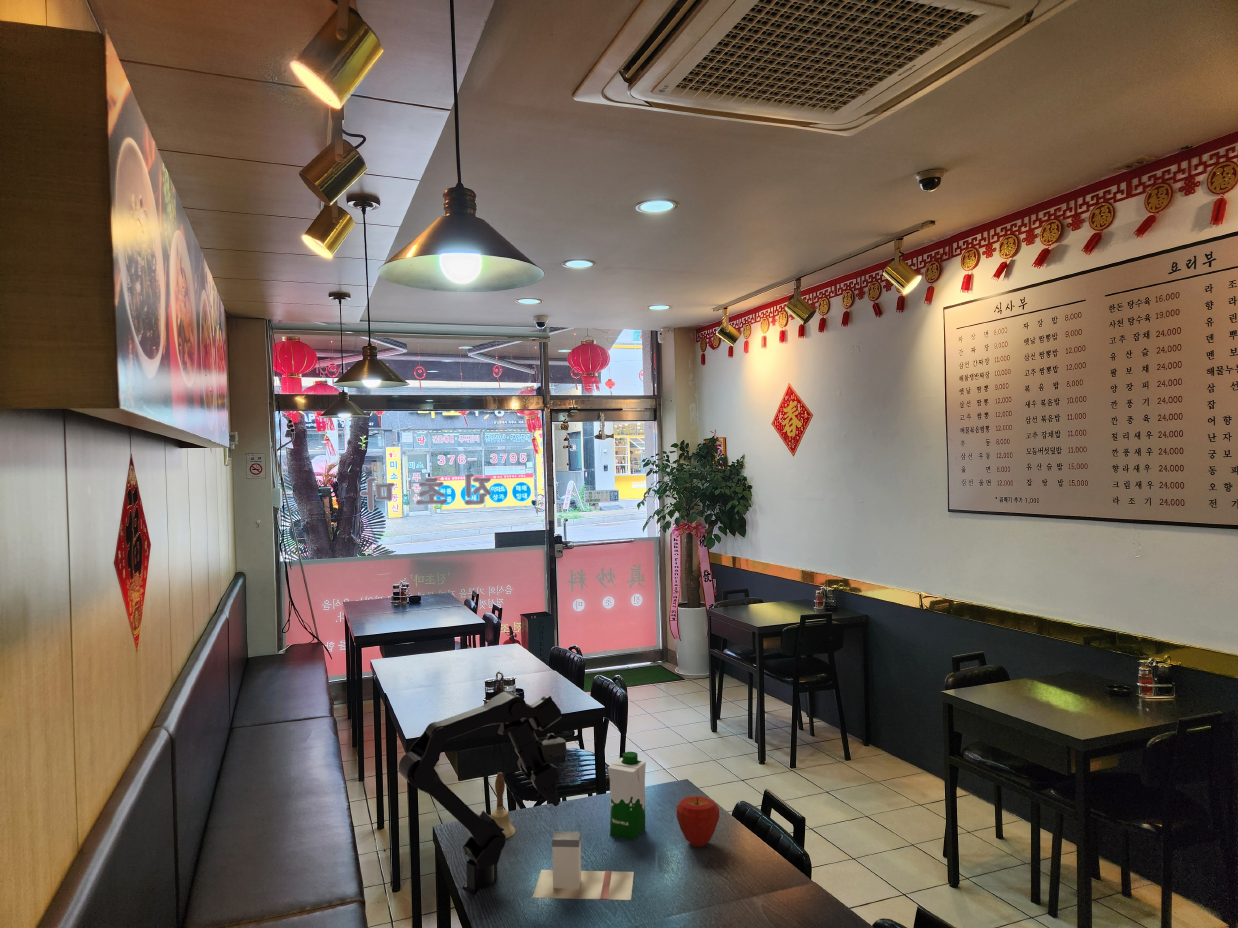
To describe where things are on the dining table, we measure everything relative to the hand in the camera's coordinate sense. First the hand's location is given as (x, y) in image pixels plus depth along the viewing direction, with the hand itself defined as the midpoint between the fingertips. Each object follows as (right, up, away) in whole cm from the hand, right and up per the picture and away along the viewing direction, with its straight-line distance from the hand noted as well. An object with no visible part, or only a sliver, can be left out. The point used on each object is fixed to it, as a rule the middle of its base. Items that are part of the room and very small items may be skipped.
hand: (552, 799), depth 186 cm
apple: (+36, -17, +12) cm, 42 cm away
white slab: (+4, -16, -8) cm, 18 cm away
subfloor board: (+8, -17, -9) cm, 20 cm away
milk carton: (+18, -17, +19) cm, 31 cm away
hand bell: (-16, -18, +20) cm, 31 cm away
